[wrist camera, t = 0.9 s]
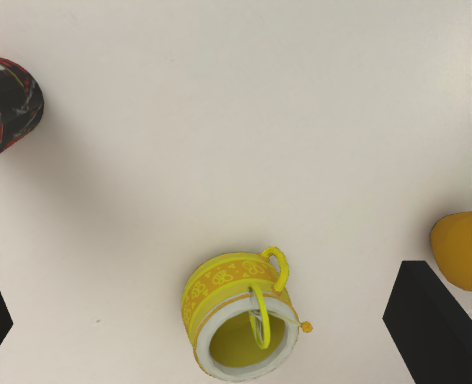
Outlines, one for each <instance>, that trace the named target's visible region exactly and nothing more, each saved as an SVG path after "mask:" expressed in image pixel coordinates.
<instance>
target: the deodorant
mask: <svg viewBox="0 0 472 384" xmlns="http://www.w3.org/2000/svg"><path fill="white" fill-rule="evenodd" d="M43 109H44V101H43V96H42V92H41V90H40V88H39V86H38V84H37V82H36V81H35V80H34V78H33V77H32V76H31V75H30V73H29V72H27V71H26V70H25V69H23V68H22V67H21V66H20V65H18V64H16V63H14V62H12V61H10V60H8V59H3V58H0V153H1V152H3V151H4V150H6V149H7V148H8V147H10V146H11V145H12V144H14V143H15V142H17V141H18V140H19V139H21V138H22V137H24V136H25V135H26V134H28V133H29V132H30V131H32V130H33V129H34V128H35V127H36V126H37V124H38V123H39V122H40V120H41V117H42V115H43Z"/></svg>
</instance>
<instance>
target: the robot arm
mask: <svg viewBox="0 0 472 384" xmlns="http://www.w3.org/2000/svg"><path fill="white" fill-rule="evenodd" d="M382 319H383V321H384V323H385V325H386V327H387V329H388V331H389V333H390V335H391V337H392V338H393V340H394V342H395V344H396V346H397V348H398V350H399V352H400V354H401V356H402V358H403V360H404V362H405V364H406V366H407V368H408V370H409V372H410V374H411V376H412V378H413V379H414V381H415V383H416V384H472V320H471V318H470V317H469V316H468V315H467V313H466V312H465V311H464V309H463V308H462V307H461V306H460V304H459V303H458V302H457V301H456V299H455V298H454V297H453V295H452V294H451V293H450V292H449V290H448V289H447V288H446V287H445V285H444V284H443V283H442V282H441V280H440V279H439V278H438V276H437V275H436V274H435V273H434V271H433V270H432V269H431V268H430V266H429V265H428V264H427V262H426V261H402V263H401V266H400V269H399V272H398V275H397V278H396V281H395V284H394V286H393V289H392V292H391V295H390V298H389V301H388V304H387V307H386V309H385V312H384V315H383V318H382ZM12 326H13V321H12V319H11V316H10V314H9V312H8V309H7V307H6V304H5V302H4V299H3V297H2V295H1V292H0V345H1V343H2V342H3V340H4V338H5V337H6V335H7V334H8V332H9V330H10V329H11V327H12Z"/></svg>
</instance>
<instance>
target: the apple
mask: <svg viewBox="0 0 472 384" xmlns="http://www.w3.org/2000/svg"><path fill="white" fill-rule="evenodd" d="M430 241H431V246H432V250H433V254H434V258H435V260H436V263H437V265H438V267H439V270H440V271H441V273H442V274H443V275H444V276H445V278H446V279H447V280H448V281H449V282H450V283H452V284H453V285H455V286H457V287H459V288H461V289H463V290H466V291H472V212H462V213H456V214H451V215H449V216H446V217H443V218H442V219H441V220H439V221H438V222H437V223H436V225H435V226H434V227H433V229H432V231H431V233H430Z"/></svg>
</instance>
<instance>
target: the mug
mask: <svg viewBox="0 0 472 384" xmlns="http://www.w3.org/2000/svg"><path fill="white" fill-rule="evenodd" d="M271 255H274V256H275V257H276V258H277V259H278V262H279V266H280V269H281V270H280V275H279V274H278V272H277V271H276V269H275V268H274V267H273V266H272V264H271V263H270V262H269V261H270V259H269V257H270V256H271ZM288 276H289V266H288V263H287V260H286V258H285V255H284V254H283V253H282V252H281V251H280V250H279V249H278V248H277V247H269V248H266V249H265V250H264V251H263V252H262V253H257V254H255V253H246V252H236V253H226V254H222V255H219V256H217V257H214V258H212V259H210V260H208V261H206V262H205V263H204V264H202V265H201V266H200V267H198V268H197V269H196V271H195V272H194V273H193V274H192V275H191V277H190V278H189V279H188V281H187V284H186V286H185V288H184V291H183V295H182V298H181V312H182V318H183V322H184V325H185V328H186V332H187V335H188V337H189V340H190V342H191V345H192V347H193V350H194V351H193V353H194V357H195V359H196V361H197V363H198V365H199V366H200V368H201V369H202V370H203V371H204V372H205V373H206V374H209V375H210V376H213V377H214V378H218V379H219V380H223V381H232V382H241V381H247V380H252V379H256V378H258V377H260V376H263V375H265V374H267V373H269V372H271V371H273V370H274V369H275V368H276V367H277V366H278V365H279V364H281V363H282V362H283V361H284V360H285V359H286V358H287V357H288V355H289V354H290V352H291V351H292V349H293V347H294V345H295V343H296V341H297V337H298V334H299V327H301V328H302V330H303V332H306V333H308V332H311V331H312V329H313V328H312V326H311V324H310V323H309V322H303V323H300V322H299V319H298V315H297V313H296V311H295V310H294V308H293V307H292V304H291V301H290V298H289V295H288V292H287V290H286V288H285V284H286V281H287V279H288Z"/></svg>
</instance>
